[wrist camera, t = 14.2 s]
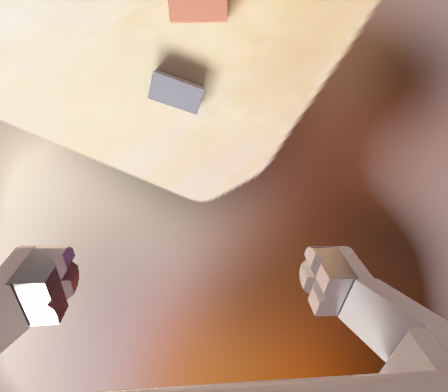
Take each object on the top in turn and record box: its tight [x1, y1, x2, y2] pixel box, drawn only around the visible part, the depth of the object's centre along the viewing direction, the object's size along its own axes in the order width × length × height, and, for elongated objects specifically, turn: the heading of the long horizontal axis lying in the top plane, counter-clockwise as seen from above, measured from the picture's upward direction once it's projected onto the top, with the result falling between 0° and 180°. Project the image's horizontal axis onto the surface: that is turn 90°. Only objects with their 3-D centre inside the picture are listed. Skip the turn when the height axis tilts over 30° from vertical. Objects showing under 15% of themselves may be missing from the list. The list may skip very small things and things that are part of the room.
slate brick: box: [148, 69, 204, 115], centre depth 33 cm, size 6×3×3 cm, turn 70°
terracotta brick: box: [168, 0, 227, 23], centre depth 28 cm, size 6×3×3 cm, turn 91°
